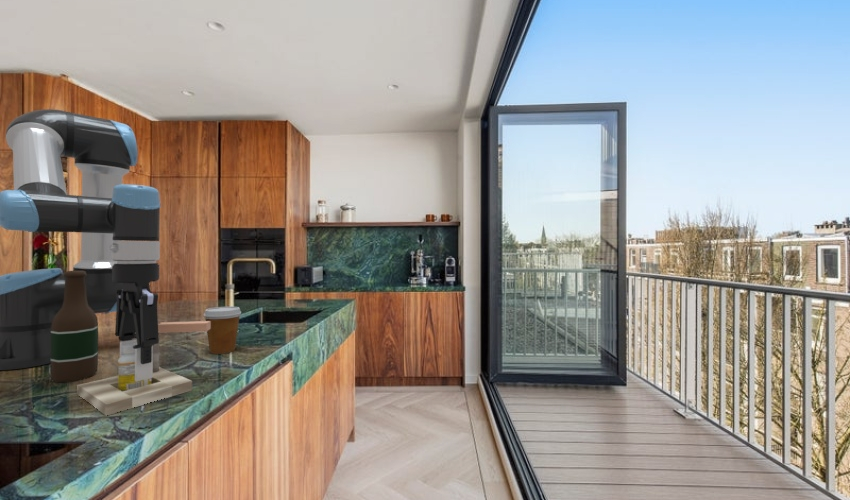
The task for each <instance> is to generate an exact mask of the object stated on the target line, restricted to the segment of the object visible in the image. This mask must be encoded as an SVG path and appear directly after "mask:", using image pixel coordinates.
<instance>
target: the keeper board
mask: <svg viewBox="0 0 850 500" xmlns="http://www.w3.org/2000/svg"><path fill="white" fill-rule="evenodd" d="M158 338H159V339H160V333H158ZM192 391H193V380H191V379H189V378H187V377H185V376H182V375H179V374H177V373H175V372H172V371H171V370H170V371H169V370H167V369H165V368H162V367H160V341H159V342H158V344H154V345H153V378H152V384H150V385H146V386H142V387H138V388H134V389H130V390H127V391H123V392H122V391H120V390H119V385H118V375H116V376H111V377H106V378H102V379H97V380H94V381H89V382H85V383H81V384H76V395H77V394H78V395H79V396H80V397H82V398H83V399H85V400H86V401H88V402H89V403H90V404H92V405H93V406H94V407H95V409H96V408H97V409H98V410H97V409H96V410H97V411H99V412H100V413H101V414H103V415H104V416H105V417H107V415H108V416H111V415H114V414H118V413H120V411H121V412H123V411H124V412H125V411H128V410H131V409H134V407H135V408H137V407H140V406H145V405H147V403H148V404H151V403H150V402H152V403H155V402H157V400H158V401H161V399H162V400H165V399H168V398H171V397H172V398H173V397H174V396H178V395H181V394H186V393H189V392H192ZM78 395H77V396H78ZM79 396H78V397H79ZM80 397H79V398H80ZM82 398H81V399H82ZM164 398H165V399H164ZM83 399H82V400H83ZM85 400H84V401H85ZM86 401H85V402H86ZM154 401H155V402H154ZM89 403H88V404H89ZM90 404H89V405H90ZM144 404H145V405H144ZM92 405H91V406H92ZM93 406H92V407H93ZM127 409H128V410H127ZM117 412H118V413H117Z"/></svg>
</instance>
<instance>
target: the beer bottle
mask: <svg viewBox="0 0 850 500" xmlns="http://www.w3.org/2000/svg"><path fill="white" fill-rule="evenodd" d="M64 273H65V274H64V276H65V277H66V280H65V291H64V301H63V305H62V308H61V309H60V310H59V312H58V313H57V314H56V315H55V317H54V319H53V321H52V325H51V363H50V380H51V381H52V382H56V383H66V382H67V383H68V381H70V382H76V381H75V380H77V381H81V380H83V379H84V378H85V379H87V378H88V377H89V378H92V377H93V376H94V375H96V373H97V372H98V370H99V369H98V368H99V366H98V365H99V360H98V359H99V321H98V317H97V315H96V314H97V313H96V314H95V312H94V311H93V310H92V309H91V308H90V307H89V306H88V302H87V296H86V283H85V276H86V275H87V274H86V271H73V270H67V271H65V272H64ZM91 376H92V377H91ZM89 378H88V379H89ZM80 379H81V380H80Z"/></svg>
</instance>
